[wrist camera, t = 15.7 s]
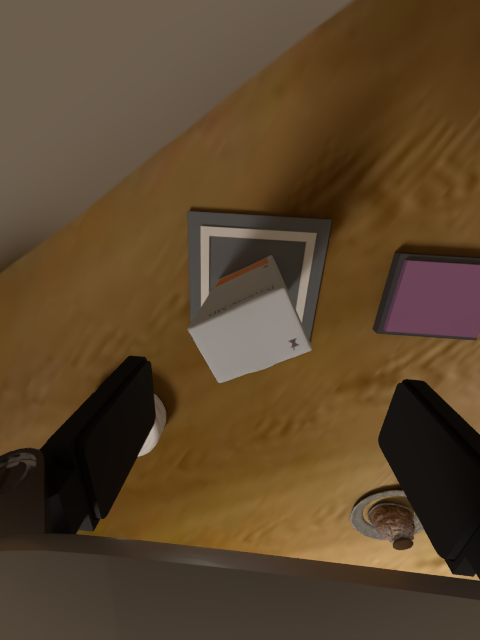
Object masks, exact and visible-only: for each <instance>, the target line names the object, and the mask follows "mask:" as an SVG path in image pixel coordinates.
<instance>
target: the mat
mask: <svg viewBox="0 0 480 640" xmlns="http://www.w3.org/2000/svg"><path fill="white" fill-rule="evenodd" d="M331 223H332V220H329V219H312V218H296V217H279V216H262V215H245V214H228V213H211V212H194V211H188V244H189V283H190V323H192V321H193V319H194V318H195V316H196V315H197V313H198V311H199V310H200V308H201V306H202V305H203V303H204V302H205V300H206V298H207V297H208V295H209V293H210V292H211V290H212V289H213V287H214V285H215V284H216V282H217V281H218V280H219V279H221V278H223V277H225V276H227V275H230V274H232V273H234V272H237V271H239V270H241V269H243V268H246V267H248V266H250V265H252V264H254V263H256V262H258V261H260V260H262V259H264V258H266V257H268V256H270V255H272V256H273V258H274V260H275V262H276V265H277V267H278V269H279V271H280V274H281V276H282V278H283V281H284V283H285V285H286V288H287V290H288V292H289V295H290V297H291V299H292V302H293V304H294V306H295V309H296V311H297V313H298V316H299V318H300V320H301V323H302V325H303V327H304V330H305V332H306V334H307V337H308V339H309V341H310V337H311V331H312V326H313V320H314V315H315V309H316V304H317V299H318V293H319V288H320V282H321V277H322V271H323V266H324V261H325V255H326V250H327V244H328V239H329V233H330V228H331ZM191 339H193V338H192V336H191Z"/></svg>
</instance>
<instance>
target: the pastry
mask: <svg viewBox="0 0 480 640" xmlns="http://www.w3.org/2000/svg"><path fill="white" fill-rule="evenodd" d="M386 496H402V497H406V495H405V493H404V491H403V490H390V491H384V492H380V493H376V494H374V495H371V496H369V497H367V498H365V499H363V500H362V501H361V502H359V503H358V504H357V505H356V506H355V507H354V509H353V510H352V512H351V516H350V521H351V524H352V526H353V527H354V529H355V530H357V531H358V532H360V533H361V534H363V535H365V536H368V537H370V538H374V539H380V540H390V542H391V543H393V548H394V549H396V550H397V549H398V550H405V549H408V548H411V547H412V546H413V541H411V540H413V539H414V536H413V535H414V534H416V533H418V532H420V531H422V530H423V529H424V528H423V526H422V524H421V523H420V521H419V519H418V517H417V515H416V514H415V516H414V512H413V511H412V510H410V509H408V508H407V507H405V506H402V505H399V504H397V503H391V502H387V503H381V504H377V505H375V506H374V507H373V508H372V509H371V510H370V511H369V513H368V515H367V517H368V520H369V521H370V522H371V524H372V525H371V524H369V523H367V522H366V521H365V519H364V518H363V510H364V508H365V506H366V505H367V504H369V503H370V502H372V501H373V500H376V499H378V498H381V497H386ZM406 498H407V497H406Z"/></svg>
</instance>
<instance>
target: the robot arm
mask: <svg viewBox="0 0 480 640" xmlns="http://www.w3.org/2000/svg"><path fill="white" fill-rule="evenodd" d="M155 419H156V411H155V401H154V390H153V380H152V369H151V363H150V361H147V359H146V358H145V357H140V356H129V357H127V358H126V359H125V361H124V362H123V363H122V364H121V365H120V366H119V367H118V368H117V369H116V370H115V371H114V372H113V373H112V374H111V375H110V376H109V377H108V378H107V379H106V380H105V381H104V382H103V383H102V384H101V385H100V386H99V388H98V389H97V390H96V391H95V392H94V393H93V394H92V395H91V396H90V397H89V398H88V399H87V400H86V401H85V402H84V403H83V404H82V405H81V406H80V407H79V408H78V409H77V410H76V411H75V412H74V413H73V415H72V416H71V417H70V418H69V419H68V420H67V421H66V422H65V423H64V424H63V425H62V426H61V427H60V428H59V429H58V430H57V431H56V432H55V433H54V434H53V435H52V436H51V437H50V438H49V439H48V440H47V442H46V443H45V445H44V446H43V447H42V448H41V449H40V450H38V449H35V448H21V449H17V450H13V451H10V452H8V453H5V454H3V455H1V456H0V640H480V581H477V580H469V579H461V578H453V577H445V576H437V575H429V574H421V573H413V572H405V571H398V570H390V569H382V568H374V567H366V566H357V565H349V564H341V563H332V562H324V561H316V560H307V559H299V558H290V557H282V556H274V555H265V554H257V553H248V552H240V551H231V550H222V549H213V548H204V547H196V546H187V545H178V544H169V543H160V542H151V541H143V540H132V539H121V538H111V537H100V536H89V535H78V534H76V533H77V531H78V530H85V531H94V530H95V528H96V526H97V524H98V522H99V520H100V519H104V518H105V517H106V516H107V515H108V513H109V511H110V509H111V507H112V505H113V503H114V501H115V499H116V498H117V496H118V494H119V492H120V490H121V488H122V486H123V484H124V482H125V480H126V478H127V476H128V474H129V472H130V470H131V468H132V466H133V464H134V463H135V461H136V459H137V457H138V455H139V453H140V451H141V449H142V447H143V445H144V443H145V441H146V439H147V437H148V435H149V433H150V431H151V429H152V428H153V426H154V423H155ZM378 442H379V446H380V448H381V450H382V452H383V454H384V456H385V458H386V459H387V461H388V463H389V465H390V467H391V469H392V471H393V472H394V474H395V476H396V478H397V480H398V482H399V484H400V485H401V487H402V489H403V491H404V493H405V495H406V497H407V498H408V500H409V502H410V504H411V506H412V508H413V510H414V511H415V513H416V515H417V517H418V519H419V521H420V523H421V524H422V526H423V528H424V530H425V532H426V534H427V536H428V538H429V539H430V541H431V543H432V545H433V547H434V549H435V550H436V552H437V554H438V555H439V556H440V557H442V558H444V559H445V561H446V563H447V565H448V567H449V568H450V570H451V572H452V574H455V575H464V576H472V577H473V576H474V575H475V574H477V576H478V577H479V579H480V435H479V434H478V433H477V432H476V431H475V430H474V429H473V428H472V427H471V426H470V425H469V424H468V423H467V422H466V421H465V420H464V419H463V418H462V417H461V416H460V415H459V414H458V413H457V412H456V411H455V410H454V409H452V408H451V407H450V406H449V405H448V404H447V403H446V402H445V401H444V400H443V399H442V398H441V397H440V396H439V395H438V394H437V393H436V392H435V391H434V390H433V389H432V388H431V387H430V386H429V385H428V384H427V383H425V382H424V381H420V380H409V379H405V380H403V381H402V383H399V384H398V385H397V387H396V389H395V392H394V395H393V398H392V401H391V403H390V406H389V409H388V412H387V415H386V417H385V420H384V423H383V426H382V428H381V431H380V434H379V437H378Z"/></svg>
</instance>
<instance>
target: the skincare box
mask: <svg viewBox="0 0 480 640" xmlns="http://www.w3.org/2000/svg"><path fill="white" fill-rule="evenodd" d="M188 331H189V333H190V334H191V336H192V338H193V339H194V341H195V343H196V345H197V346H198V348H199V350H200V352H201V353H202V355H203V357H204V359H205V360H206V362H207V364H208V366H209V367H210V369H211V371H212V373H213V374H214V376H215V378H216V380H217V381H218V383H223V382H225V381H228V380H231V379H234V378H237V377H240V376H242V375H245V374H248V373H252V372H257V371H260V370H263V369H266V368H268V367H271V366H272V365H274V364H276V363H279V362H282V361H285V360H287V359H290V358H292V357H295V356H298V355H301V354H303V353H306V352H309V351H311V350H312V346H311V344H310V341H309V339H308V337H307V334H306V332H305V330H304V327H303V325H302V323H301V320H300V318H299V316H298V313H297V311H296V309H295V306H294V304H293V302H292V299H291V297H290V295H289V292H288V290H287V288H286V285H285V283H284V281H283V278H282V276H281V274H280V271H279V269H278V267H277V265H276V262H275V260H274V258H273V256H272V255H270V256H268V257H266V258H264V259H262V260H260V261H258V262H256V263H254V264H252V265H250V266H248V267H246V268H243V269H241V270H239V271H237V272H234V273H232V274H230V275H227V276H225V277H223V278H221V279H219V280H218V281H217V282H216V284H215V285H214V287H213V289H212V290H211V292H210V293H209V295H208V297H207V298H206V300H205V302H204V303H203V305H202V306H201V308H200V310H199V311H198V313H197V315H196V316H195V318H194V319H193V321H192V323H191V324H190V326H189V327H188Z"/></svg>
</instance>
